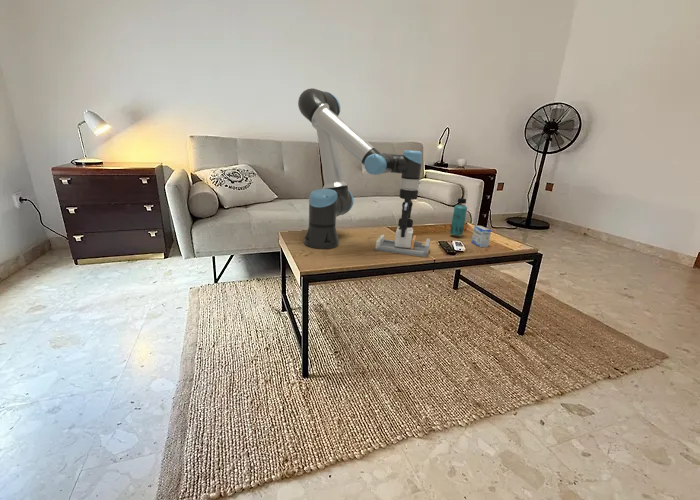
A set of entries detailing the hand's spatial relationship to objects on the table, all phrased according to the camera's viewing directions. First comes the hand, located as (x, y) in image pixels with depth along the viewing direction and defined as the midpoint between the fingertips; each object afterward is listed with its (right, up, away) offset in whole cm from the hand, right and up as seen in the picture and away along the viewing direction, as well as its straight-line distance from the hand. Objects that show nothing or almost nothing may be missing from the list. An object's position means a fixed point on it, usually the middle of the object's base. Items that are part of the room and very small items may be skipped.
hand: (403, 241), depth 151 cm
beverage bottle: (+32, +3, +29) cm, 43 cm away
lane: (0, -4, +1) cm, 4 cm away
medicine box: (+40, -1, +17) cm, 43 cm away
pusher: (+6, -3, -1) cm, 6 cm away
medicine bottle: (0, -2, +1) cm, 2 cm away
